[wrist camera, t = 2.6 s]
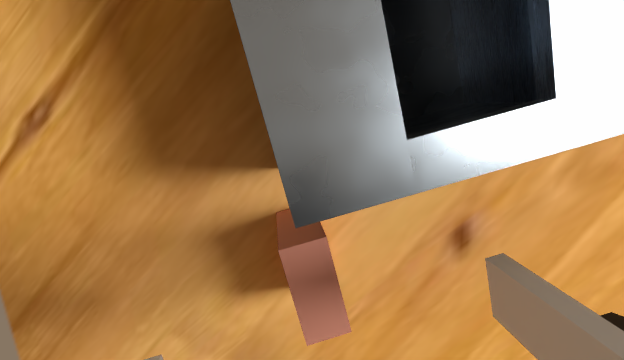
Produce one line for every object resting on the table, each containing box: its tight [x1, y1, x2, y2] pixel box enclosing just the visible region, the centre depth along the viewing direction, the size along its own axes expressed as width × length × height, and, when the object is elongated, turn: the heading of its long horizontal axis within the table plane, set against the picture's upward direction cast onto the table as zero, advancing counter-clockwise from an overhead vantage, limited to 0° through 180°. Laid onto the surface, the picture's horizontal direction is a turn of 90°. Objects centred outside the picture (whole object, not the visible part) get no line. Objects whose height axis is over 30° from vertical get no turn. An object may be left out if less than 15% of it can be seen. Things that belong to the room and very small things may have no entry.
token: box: [276, 209, 351, 346], centre depth 19 cm, size 2×6×6 cm, turn 14°
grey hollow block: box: [230, 0, 624, 228], centre depth 15 cm, size 13×12×11 cm
